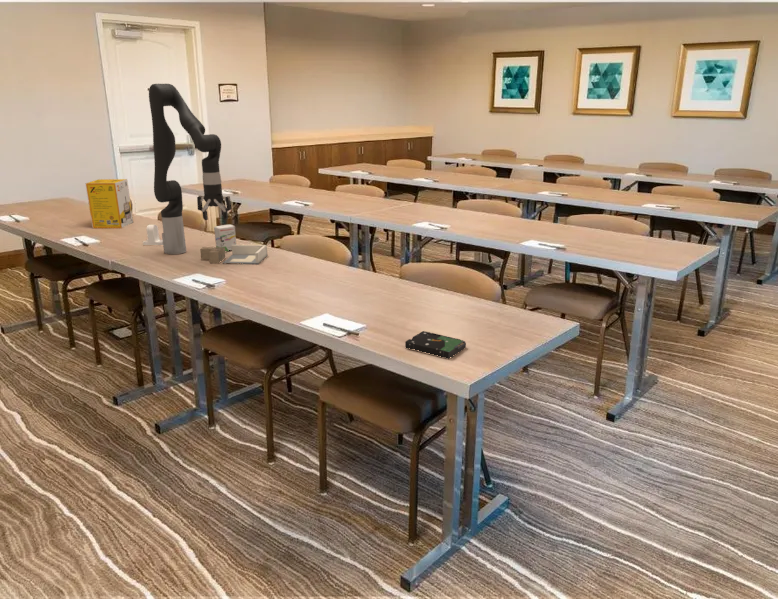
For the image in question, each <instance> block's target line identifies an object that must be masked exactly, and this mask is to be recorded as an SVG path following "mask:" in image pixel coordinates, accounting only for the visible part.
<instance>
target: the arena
mask: <svg viewBox="0 0 778 599" xmlns="http://www.w3.org/2000/svg"><path fill="white" fill-rule="evenodd" d="M266 256H267V257H268V246H267V244H236V245H232V251H231V255H230V256H229V257H228V258H226V259H224V260H223V262H222V264H223V263H241V264H240V265H260V264H261V263H262V262H263V261H264V260H265V259H266V258H267V257H266ZM265 257H266V258H265ZM264 258H265V259H264ZM263 259H264V260H263ZM262 260H263V261H262ZM261 261H262V262H261ZM260 262H261V263H260ZM242 263H243V264H242ZM259 263H260V264H259Z"/></svg>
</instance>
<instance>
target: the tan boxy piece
mask: <svg viewBox="0 0 778 599" xmlns="http://www.w3.org/2000/svg"><path fill="white" fill-rule="evenodd" d="M199 251H200V260H201V261H209V263H210V264H220V263H221V262H220V261H222V260H223V259H224V258H225V257H226V252H225V247H216V246H215V247H214V246H212V247H211V246H208V247H207V246H204V247H203V246H202V247H201V248H200V250H199ZM203 259H204V260H203ZM225 259H226V258H225ZM225 259H224V260H225ZM224 260H223V261H224ZM219 262H220V263H219Z"/></svg>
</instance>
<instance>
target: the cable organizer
mask: <svg viewBox="0 0 778 599" xmlns="http://www.w3.org/2000/svg"><path fill="white" fill-rule="evenodd" d="M146 235H147V239H145V240H143V241H142V246H143V245H163V240H162V239H161V238H160V232H159V227H158V225H157V224H148V225H147V226H146Z"/></svg>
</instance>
